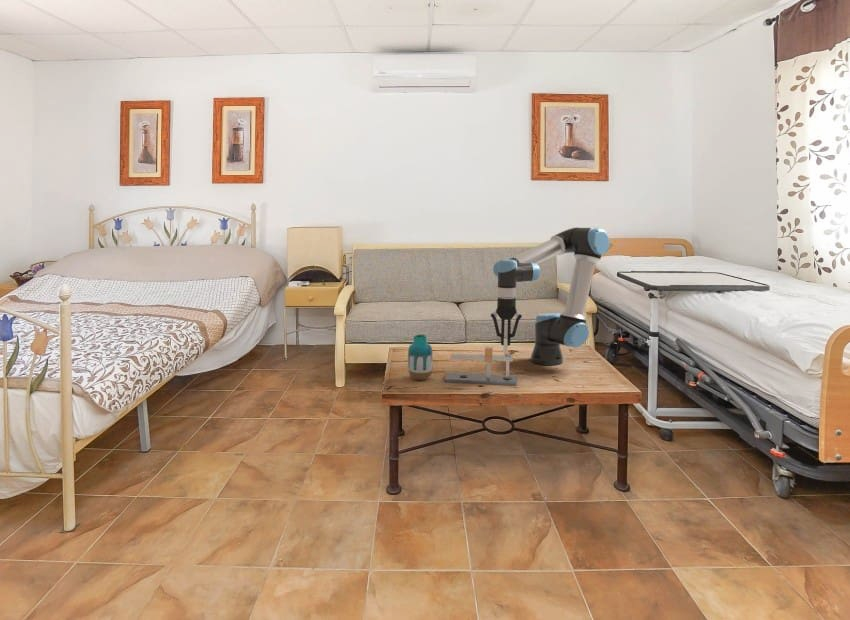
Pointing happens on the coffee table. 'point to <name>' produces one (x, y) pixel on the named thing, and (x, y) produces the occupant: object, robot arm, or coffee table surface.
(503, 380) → the flange plate
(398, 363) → the coffee table surface
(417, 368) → the vase
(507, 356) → the bar
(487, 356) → the block
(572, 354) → the coffee table surface
